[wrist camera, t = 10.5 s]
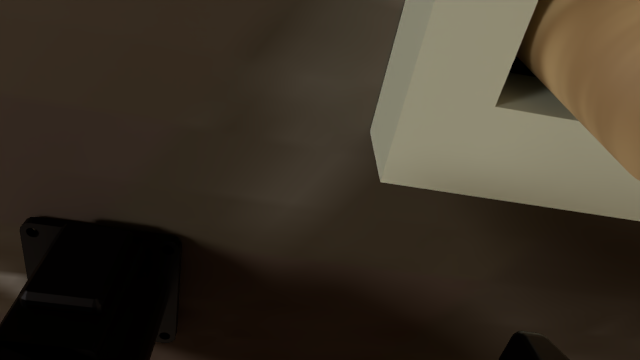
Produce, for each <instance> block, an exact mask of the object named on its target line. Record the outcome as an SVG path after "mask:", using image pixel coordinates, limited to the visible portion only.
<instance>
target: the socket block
mask: <svg viewBox="0 0 640 360" xmlns="http://www.w3.org/2000/svg"><path fill="white" fill-rule="evenodd" d="M537 2H538V0H405V4H404V8H403V11H402V15H401V19H400V22H399V26H398V30H397V34H396V37H395V41H394V45H393V48H392V52H391V56H390V59H389V63H388V67H387V71H386V74H385V78H384V82H383V85H382V89H381V93H380V96H379V100H378V104H377V107H376V111H375V115H374V119H373V122H372V126H371V130H370V134H371V139H372V144H373V149H374V153H375V158H376V163H377V168H378V173H379V178H380V182H384V183H390V184H397V185H403V186H410V187H417V188H423V189H430V190H437V191H443V192H450V193H456V194H463V195H470V196H476V197H483V198H490V199H496V200H503V201H509V202H516V203H523V204H529V205H536V206H542V207H549V208H556V209H562V210H569V211H576V212H582V213H589V214H595V215H602V216H609V217H615V218H622V219H629V220H635V221H640V181H639V180H637V179H636V178H634V177H633V176H632V175H631V174H630V173H629V172H628V171H627V170H626V169H625V168H624V167H623V166H622V165H621V164H620V163H619V162H618V161H617V160H616V159H615V158H614V157H613V156H612V155H611V154H610V153H609V152H608V151H607V150H606V149H605V147H604V146H603V145H602V144H601V143H600V142H599V141H598V140H597V139H596V138H595V137H594V136H593V135H592V134H591V133H590V132H589V131H588V130H587V129H586V128H585V127H584V126H583V125H582V124H581V123H580V122H579V120H578V119H577V118H576V117H575V116H574V115H573V114H572V113H571V112H570V111H569V110H568V109H567V108H566V107H565V106H564V105H563V104H562V103H561V102H560V101H559V100H558V99H557V98H556V97H555V96H554V95H553V94H552V92H551V91H550V90H549V89H548V88H547V87H546V86H545V85H544V84H543V83H542V82H541V81H540V80H539V79H538V78H537V77H533V76H527V75H522V74H516V73H511V72H509V71H510V69H511V66H512V64H513V61H514V59H515V57H516V54H517V52H518V49H519V47H520V44H521V42H522V39H523V37H524V34H525V32H526V29H527V27H528V25H529V22H530V20H531V17H532V15H533V12H534V10H535V7H536V5H537Z"/></svg>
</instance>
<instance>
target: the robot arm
mask: <svg viewBox="0 0 640 360" xmlns="http://www.w3.org/2000/svg"><path fill="white" fill-rule="evenodd" d="M32 228H34V229H36V230H37V231H35V230H33V229H32ZM20 235H21V241H22V248H23V254H24V260H25V266H26V272H27V279H28V281H27V282H26V284H25V285H24V287H23V288H22V290H21V292H20V294H19V295H18V297H17V298H16V300H15V302H14V303H13V305H12V306H11V308H10V309H9V311H8V312H7V314H6V316H5V317H4V319H3V320H2V322H1V323H0V360H150V357H151V354H152V351H153V348H154V344H155V342H161V343H169V342H172V341H173V340H174V339H175V336H176V333H177V322H178V304H179V286H180V268H181V251H182V244H181V241H180V240H179V239H178V238H177V237H175V236H172V235H166V234H158V233H151V232H143V231H136V230H128V229H121V228H113V227H106V226H98V225H90V224H83V223H75V222H68V221H60V220H53V219H45V218H38V217H30V218H28V219H26V221H25V222H24V223H23V224H22V226H21V227H20ZM166 246H171V247H172V248H171V249H170V248H167V247H166ZM499 360H569V359H568V358H567V357H566V356H565V355H564V354H563V353H562V352H561V351H560V350H559V349H558V348H557V347H556V346H555V345H554V344H553V343H552V342H551V341H550V340H549V339H548V338H546V337H545V336H544V335H542V334H539V333H533V332H525V331H518V332H516V333H514V334H513V336H512V337H511V339H510V340H509V342H508V344H507V346H506V347H505V349H504V351H503V353H502V354H501V356H500V358H499Z"/></svg>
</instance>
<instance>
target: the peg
mask: <svg viewBox="0 0 640 360" xmlns="http://www.w3.org/2000/svg"><path fill="white" fill-rule="evenodd" d="M516 56H517V57H518V58H519V59H520V60H521V61H522V62H523V63H524V64H525V65H526V67H527V68H528V69H529V70H530V71H531V72H532V73H533V74H534V75H535V76H536V77H537V78H538V79H539V80H540V81H541V82H542V83H543V84H544V85H545V86H546V87H547V88H548V89H549V90H550V91H551V92H552V94H553V95H554V96H555V97H556V98H557V99H558V100H559V101H560V102H561V103H562V104H563V105H564V106H565V107H566V108H567V109H568V110H569V111H570V112H571V113H572V114H573V115H574V116H575V117H576V118H577V119H578V120H579V122H580V123H581V124H582V125H583V126H584V127H585V128H586V129H587V130H588V131H589V132H590V133H591V134H592V135H593V136H594V137H595V138H596V139H597V140H598V141H599V142H600V143H601V144H602V145H603V146H604V147H605V149H606V150H607V151H608V152H609V153H610V154H611V155H612V156H613V157H614V158H615V159H616V160H617V161H618V162H619V163H620V164H621V165H622V166H623V167H624V168H625V169H626V170H627V171H628V172H629V173H630V174H631V175H632V176H633V177H634V178H636V179H637V180H639V181H640V0H538V2H537V5H536V7H535V10H534V12H533V15H532V17H531V20H530V22H529V25H528V27H527V29H526V32H525V34H524V37H523V39H522V42H521V44H520V47H519V49H518V52H517V54H516Z"/></svg>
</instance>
